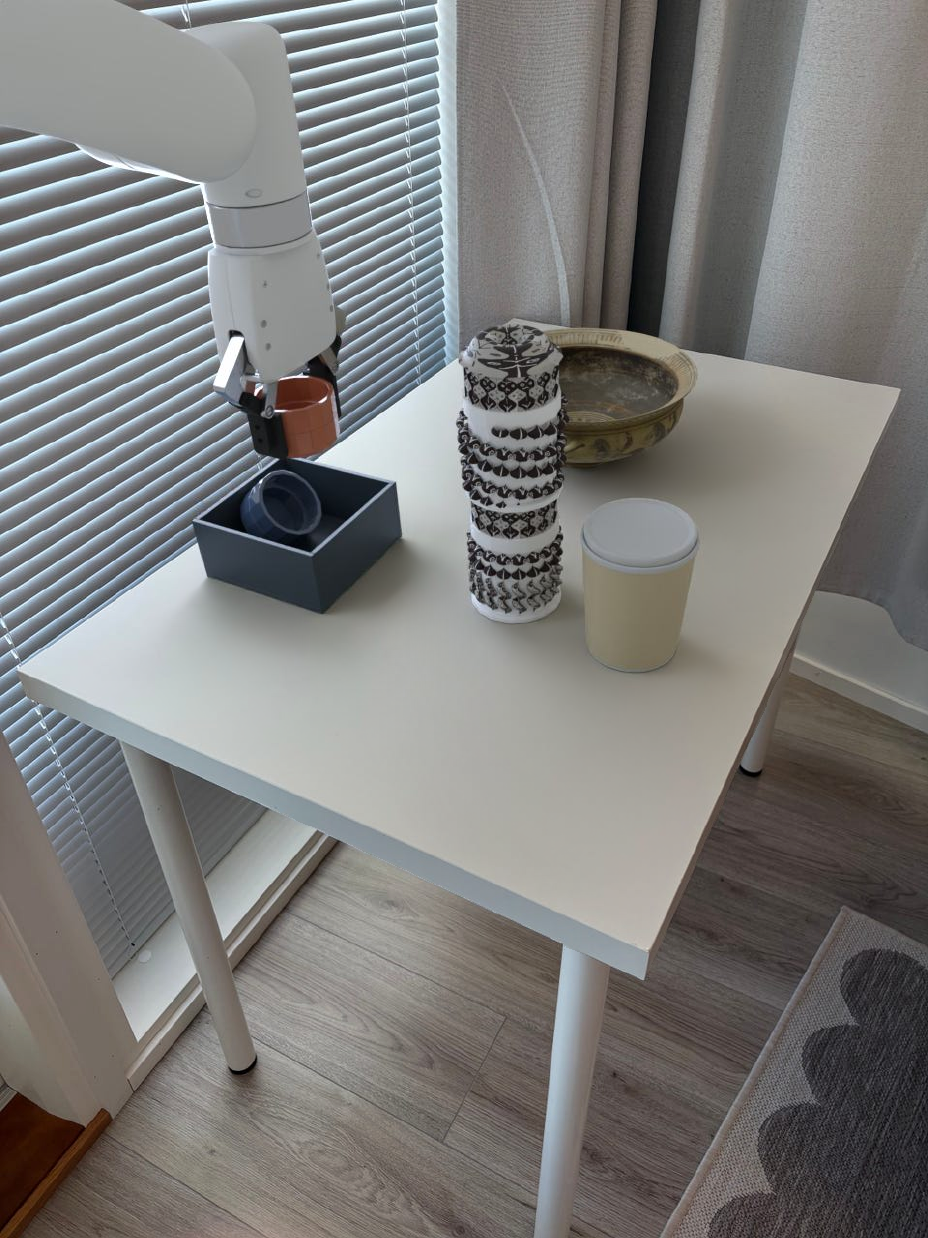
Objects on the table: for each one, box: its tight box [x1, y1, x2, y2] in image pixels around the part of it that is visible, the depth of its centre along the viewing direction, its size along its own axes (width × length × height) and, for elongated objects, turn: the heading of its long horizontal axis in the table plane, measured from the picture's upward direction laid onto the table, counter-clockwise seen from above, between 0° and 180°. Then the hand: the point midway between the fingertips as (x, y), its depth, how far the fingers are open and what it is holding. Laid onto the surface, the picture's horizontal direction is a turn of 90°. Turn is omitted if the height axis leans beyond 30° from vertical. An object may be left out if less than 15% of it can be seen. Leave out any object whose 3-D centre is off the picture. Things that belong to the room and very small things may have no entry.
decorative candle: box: [455, 323, 569, 624], centre depth 80 cm, size 9×9×25 cm
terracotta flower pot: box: [255, 375, 341, 459], centre depth 81 cm, size 7×7×4 cm
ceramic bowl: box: [541, 327, 698, 468], centre depth 106 cm, size 30×24×10 cm
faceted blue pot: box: [240, 470, 322, 547], centre depth 94 cm, size 7×7×4 cm
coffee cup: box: [579, 497, 701, 673], centre depth 78 cm, size 9×9×12 cm
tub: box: [191, 458, 403, 615], centre depth 93 cm, size 14×14×6 cm
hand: (299, 433), depth 82 cm, fingers closed on terracotta flower pot, 6 cm apart
